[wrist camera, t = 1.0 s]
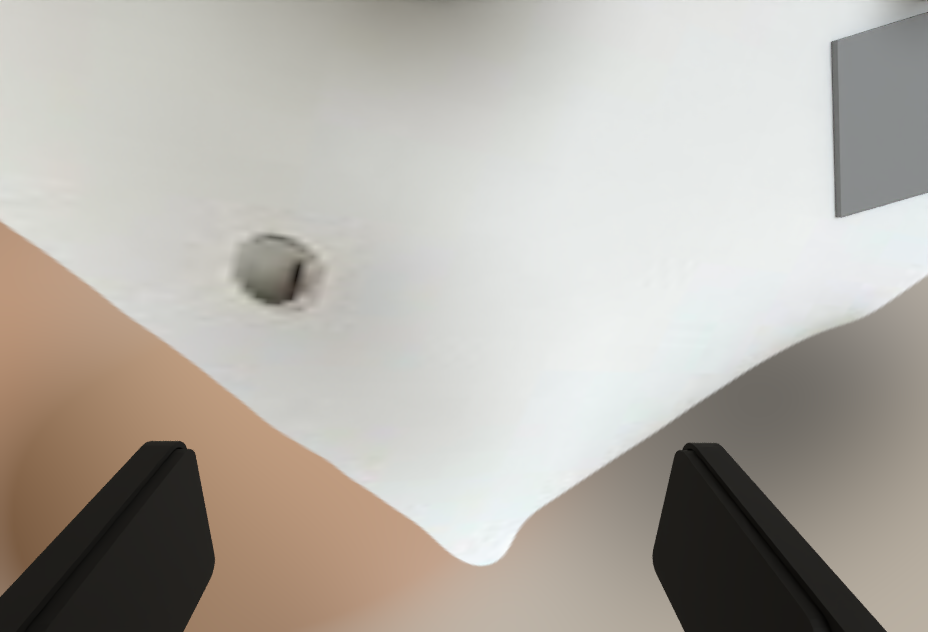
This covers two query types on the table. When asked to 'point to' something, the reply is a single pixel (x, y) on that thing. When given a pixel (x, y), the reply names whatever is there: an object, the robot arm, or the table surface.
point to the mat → (881, 115)
